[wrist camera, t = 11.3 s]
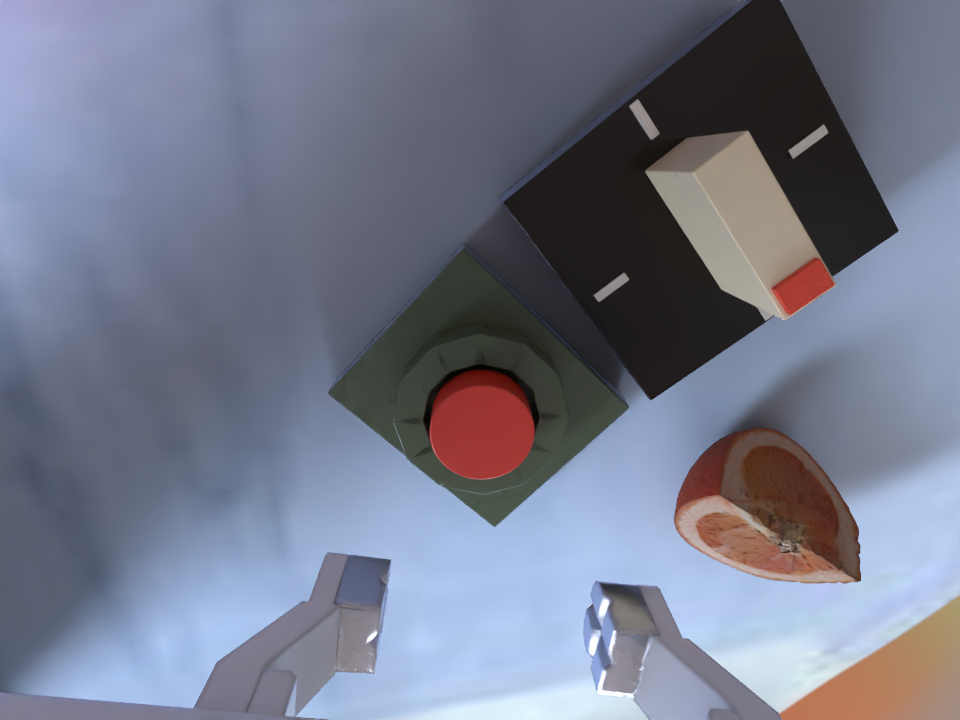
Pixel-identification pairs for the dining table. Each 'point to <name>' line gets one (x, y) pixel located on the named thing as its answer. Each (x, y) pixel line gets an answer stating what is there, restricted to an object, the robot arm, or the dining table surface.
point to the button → (481, 425)
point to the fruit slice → (768, 511)
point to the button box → (473, 346)
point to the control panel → (648, 221)
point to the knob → (741, 222)
